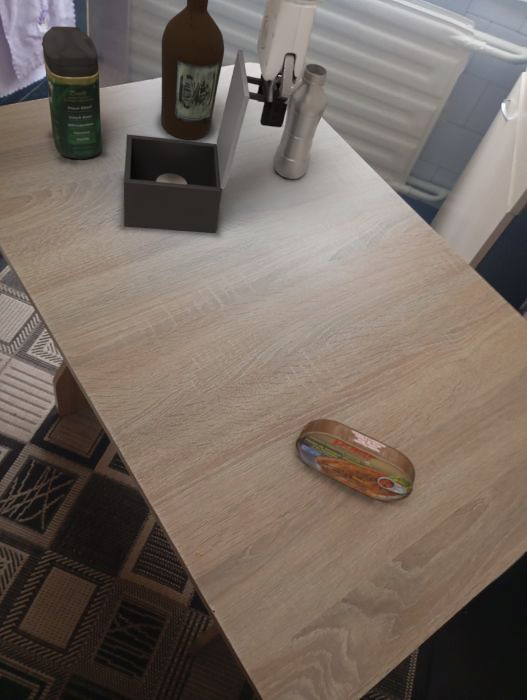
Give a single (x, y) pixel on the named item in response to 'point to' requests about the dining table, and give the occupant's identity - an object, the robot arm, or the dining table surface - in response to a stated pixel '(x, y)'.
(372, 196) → the dining table surface
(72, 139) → the coffee jar
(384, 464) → the tin
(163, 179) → the coffee pod
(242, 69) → the box lid
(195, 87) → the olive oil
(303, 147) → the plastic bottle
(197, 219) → the dark brown box
